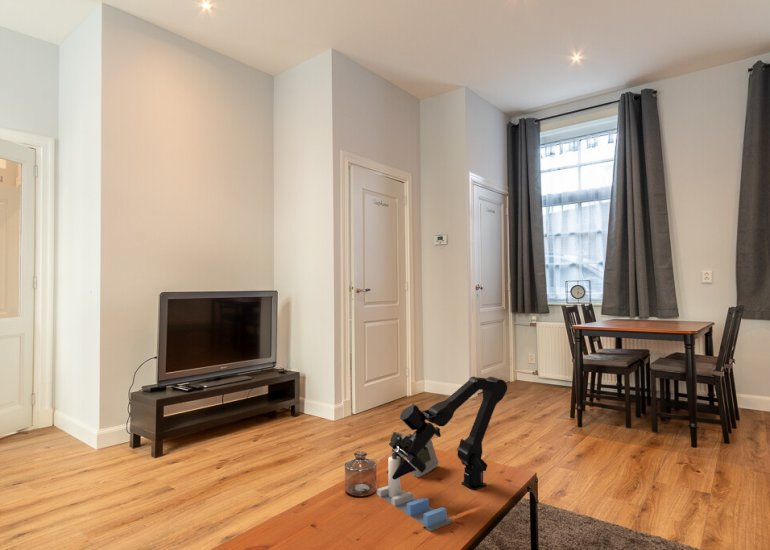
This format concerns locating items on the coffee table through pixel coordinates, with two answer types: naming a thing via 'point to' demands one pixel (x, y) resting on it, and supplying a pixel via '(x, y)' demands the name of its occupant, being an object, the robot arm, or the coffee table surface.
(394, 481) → the bottle
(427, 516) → the slotted divider tray
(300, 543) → the coffee table surface
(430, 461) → the digital clock
